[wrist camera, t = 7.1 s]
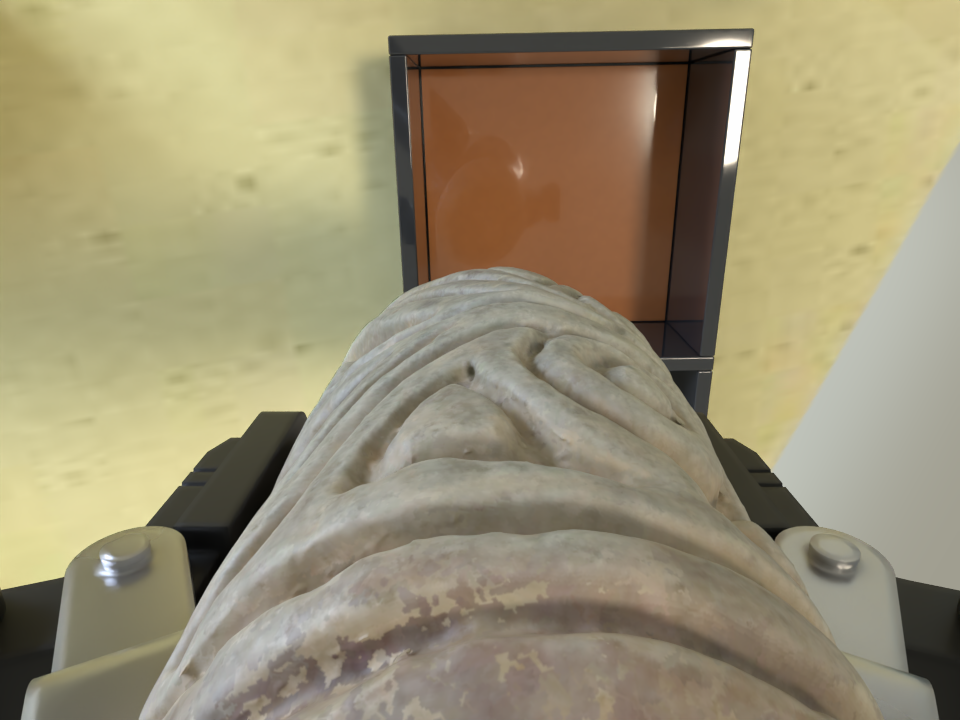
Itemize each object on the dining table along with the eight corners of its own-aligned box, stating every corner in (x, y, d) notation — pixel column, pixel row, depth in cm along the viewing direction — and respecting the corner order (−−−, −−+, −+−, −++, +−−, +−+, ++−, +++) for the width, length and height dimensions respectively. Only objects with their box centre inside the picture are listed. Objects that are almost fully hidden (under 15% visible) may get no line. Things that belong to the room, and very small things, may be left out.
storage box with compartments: (406, 54, 26) (387, 35, 21) (699, 48, 26) (755, 27, 21) (431, 532, 34) (422, 606, 29) (653, 529, 34) (684, 602, 29)
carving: (665, 275, 14) (1411, 864, 3) (548, 537, 17) (700, 1396, 5) (396, 183, 13) (-25, 500, 2) (317, 473, 16) (-67, 1317, 5)
